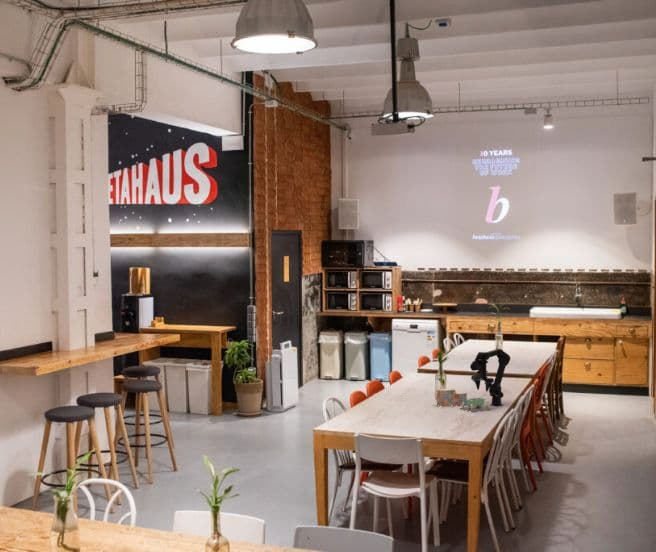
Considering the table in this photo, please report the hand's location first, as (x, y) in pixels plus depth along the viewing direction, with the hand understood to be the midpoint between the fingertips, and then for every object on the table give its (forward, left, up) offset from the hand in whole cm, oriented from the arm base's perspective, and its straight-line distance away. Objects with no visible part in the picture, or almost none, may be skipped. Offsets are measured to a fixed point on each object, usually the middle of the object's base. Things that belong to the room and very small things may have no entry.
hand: (482, 390), depth 588 cm
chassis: (+9, +3, -12) cm, 16 cm away
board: (+9, +3, -9) cm, 13 cm away
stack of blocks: (+13, -19, -13) cm, 26 cm away
